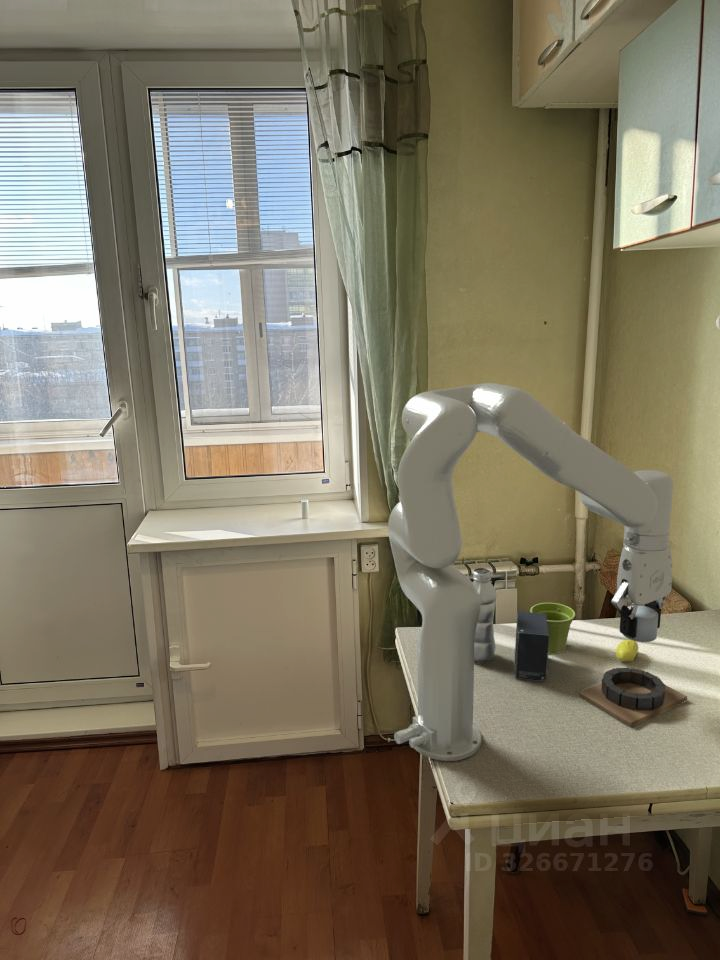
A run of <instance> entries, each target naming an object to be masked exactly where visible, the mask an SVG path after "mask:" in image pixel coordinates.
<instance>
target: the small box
mask: <svg viewBox="0 0 720 960" xmlns="http://www.w3.org/2000/svg"><path fill="white" fill-rule="evenodd" d="M548 645H549V633H548V626H547V618H546V614H544V613H533V612H530V611H521V610H517V611H516V632H515V647H514V675H515V676H514V678H515V680H528V681H535V682H536V681H537V682H546V681H547V672H548V660H549V659H548V657H549V653H548Z"/></svg>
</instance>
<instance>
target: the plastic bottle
mask: <svg viewBox="0 0 720 960" xmlns="http://www.w3.org/2000/svg"><path fill="white" fill-rule="evenodd" d="M491 571H492V570H491V569H490V568H488V567H476V568H474V569H473V572H472V574H473V575H472V580H473V581H472V583H473V584H474V586H475V587H476V589H477V591H478V594H479V597H480V614H479V618H478V622H477V627H476V633H475V644H474V662H487V661H490V660H491V659H492V658H493V657H494V656H495V652H496V641H495V631H494V618H495V608H496V603H497V598H498V597H497V596H498V594H497V590H496V588H495V587H494V585H493V583H491V580H492V577H491V574H492V572H491Z"/></svg>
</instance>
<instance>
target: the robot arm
mask: <svg viewBox="0 0 720 960" xmlns="http://www.w3.org/2000/svg"><path fill="white" fill-rule="evenodd" d="M401 424H402V428H403V430H404V432H405V433H406V435H407V436H408V437H409V438H411V440H410V442H409V443H408V445H407V446H406V448H405V450H404V452H403V454H402V456H401V459H400V461H399V464H398V469H397V486H398V493H399V499H400V501H399V502H398V503H396V505H395V506H394V507H393V508H392V510H391V512H390V515H389V518H388V524H387V525H388V526H387V530H388V531H387V532H388V538H389V543H390V548H391V552H392V557H393V560H394V565H395V569H396V575H397V578H398V582H399V585H400V588H401V590H402V592H403V594H404V595H405V596H406V597H407V599H408V600H409V601H411V603H413V605H414V606H415V608H416V609H417V610H418V611H419V613H420V614H421V617H422V619H421V620H422V624H421V629H420V631H419V634H418V640H417V715H415V716H412V724H409V726H408V728H405V729H402V730H399V731H396V732H394V735H393V737H394V740H395V743H396V745H397V744H398V745H400V744H403V743H405V742H409V743H408V744H409V746H410V748H412V749H414V750H415V751H416V752H418V753H419V754H421V755H423V756H424V757H427V758H428V759H431V760H436V761H440V762H441V761H442V762H454V761H460V760H464V759H467V758H469V757H471V756H473V755H474V754H476V753H477V752H478V751H479V750H480V747H481V745H482V732H481V730H480V728H479V726H478V725H476V724H475V723H474V688H475V686H474V684H475V683H474V682H475V679H474V678H475V677H474V676H475V660H474V644H475V633H476V627H477V622H478V618H479V614H480V597H479V594H478V591H477V589H476V587H475V586H474V584H473V581H472V580H471V579H470V578H469V577H468V576H466V575H465V574H464V573H463V572H462V571H460V570H459V569H458V568H457V567H456V566H454V565H453V564H455V562H456V561H457V560H458V558H459V557H460V554H461V552H462V548H463V547H462V546H463V538H462V536H463V535H462V531H461V526H460V520H459V515H458V510H457V505H456V501H455V500H456V499H455V495H454V485H453V484H454V483H453V474H454V470H455V468H456V465H457V463H458V462H459V460H460V459H461V457H462V456H463V455H464V453H466V451H467V450H468V449H469V448H470V446H471V445H472V443H474V440H475V438H476V436H477V433H480V432H483V433H486V434H488V435H492V436H494V437H496V438H497V439H498V440H499V441H501V442H503V444H505V445H506V446H507V447H508V448H510V449H512V450H513V451H514V452H516V453H517V454H518V455H520V456H521V457H522V458H523V459H525V460H526V461H527V462H528V463H530V464H531V465H532V466H533V467H534V468H536V469H537V470H538V471H539V472H541V473H542V474H543V475H545V476H547V477H549V478H550V479H552V480H554V481H555V482H558V483H559V484H561V485H564V486H567V487H568V488H570V489H572V490H575V491H577V492H578V493H579V498H580V500H581V501H580V502H581V503H582V504H583V505H584V506H585V508H587V509H588V510H589V511H591V512H592V513H595V514H597V515H599V516H600V517H601V516H602V517H604V518H607V519H609V520H611V521H613V522H615V523H618V524H619V525H622V526H623V527H624V528H623V529H624V530H623V545H622V546H623V547H622V551H621V554H620V559H619V564H618V570H617V577H616V578H617V579H616V592H615V594H614V596H613V598H612V599H611V602H610V604H611V605H612V606H613V607H614V608H615V609H616V610H617V611H618V614H619V615H620V617H619V619H620V620H619V633H620V634H622V635H623V634H624V635H626V636H628V637H631V638H635V637H636V630H637V618H636V617H635V614H636V611H637V608H638V606H646V607H649V608H651V609H654V610H655V611H657V612H658V626H657V629H659V628H660V627H661V614H662V608H663V607H664V605H665V603H664V600H665V599H666V597H667V596H669V595H670V594H671V592H672V585H673V584H672V581H673V559H672V549H671V545H670V544H669V542H670V533H671V531H670V530H671V520H672V519H671V518H672V504H673V503H672V502H673V495H674V493H673V492H674V479H673V477H672V476H671V475H670V474H668V473H666V472H663V471H661V470H655V469H653V470H652V469H644V470H636V471H633V470H631V469H630V468H629V467H627V466H626V465H625V464H623V463H622V462H621V461H619V460H617V458H614V457H613V456H611V455H610V454H608V453H607V452H605V451H603V450H602V449H601V448H600V447H597V446H596V445H595V444H594V443H592V442H590V441H589V440H588V439H586V438H584V437H582V436H581V435H580V434H578V433H577V432H576V431H575V430H573V429H572V428H571V427H569V426H568V425H567V424H566V423H565V422H564V421H562V420H561V419H560V418H559V417H558V416H556V414H554V413H553V412H552V411H550V410H549V409H548V408H547V407H546V406H545V405H544V404H542V403H541V402H539V400H538V399H536V398H535V397H534V396H532V395H531V394H530V393H529V392H527V391H526V390H523V389H522V388H519V387H516V386H511V385H505V384H502V383H501V384H500V383H495V382H487V383H486V382H485V383H478V384H469V385H465V386H458V387H457V386H456V387H449V388H443V389H436V390H430V391H429V390H428V391H424V392H420V393H418V394H416V395H414V396H413V397H411V398H410V399H409V400H408V401H407V403H406V404H405V405H404V407H403V410H402V413H401ZM628 604H631V605H630V606H631V609H629V608H628V606H627V605H628ZM624 635H623V636H624Z"/></svg>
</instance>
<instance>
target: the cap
mask: <svg viewBox="0 0 720 960" xmlns="http://www.w3.org/2000/svg"><path fill="white" fill-rule="evenodd" d="M631 606H632V605H628V606H627V607H628V608H629V609H631ZM635 617H636V618H637V630H636V637H635V638H631V637H628V636H626V635H624V634H622V636H624V637H625V638H627V640H633V641H636V642H637V643H638V642H640V643H651V642H653V641H655V640H657V637H658V628H657V626H658V612H657V611H655V610H654V609H651V608H649V607H646V606H645V605H641V606H638V608H637V611H636V614H635Z"/></svg>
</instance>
